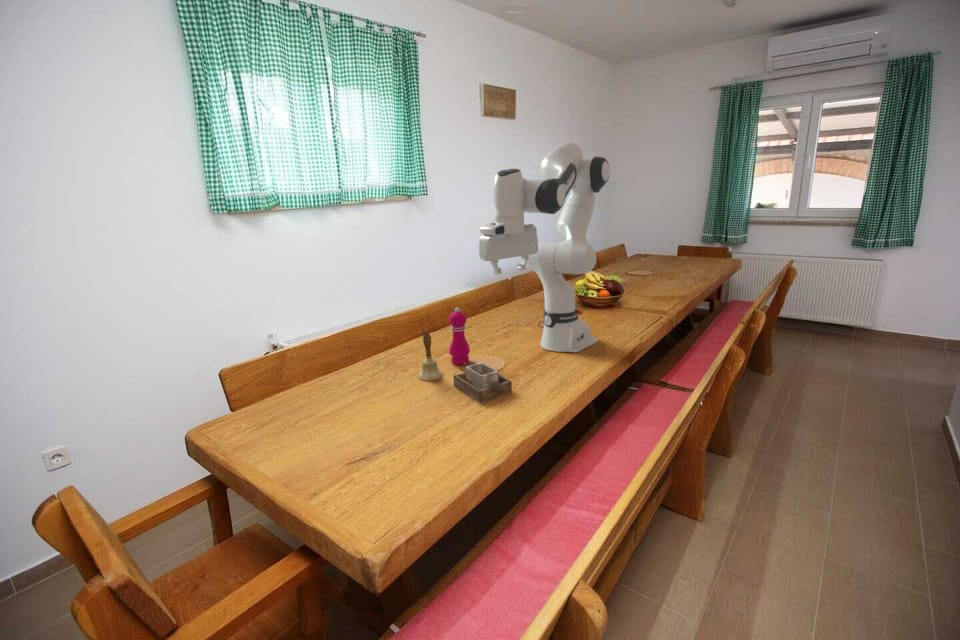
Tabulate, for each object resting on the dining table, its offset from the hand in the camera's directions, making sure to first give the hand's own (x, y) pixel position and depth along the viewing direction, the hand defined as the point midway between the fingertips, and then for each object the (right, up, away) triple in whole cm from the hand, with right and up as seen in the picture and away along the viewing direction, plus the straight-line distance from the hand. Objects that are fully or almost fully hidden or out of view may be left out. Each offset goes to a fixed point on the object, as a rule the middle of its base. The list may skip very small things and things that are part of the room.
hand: (510, 271), depth 143 cm
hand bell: (-26, -34, +12) cm, 44 cm away
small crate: (-9, -35, 0) cm, 36 cm away
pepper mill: (-16, -30, +22) cm, 41 cm away
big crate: (-9, -36, 0) cm, 37 cm away
